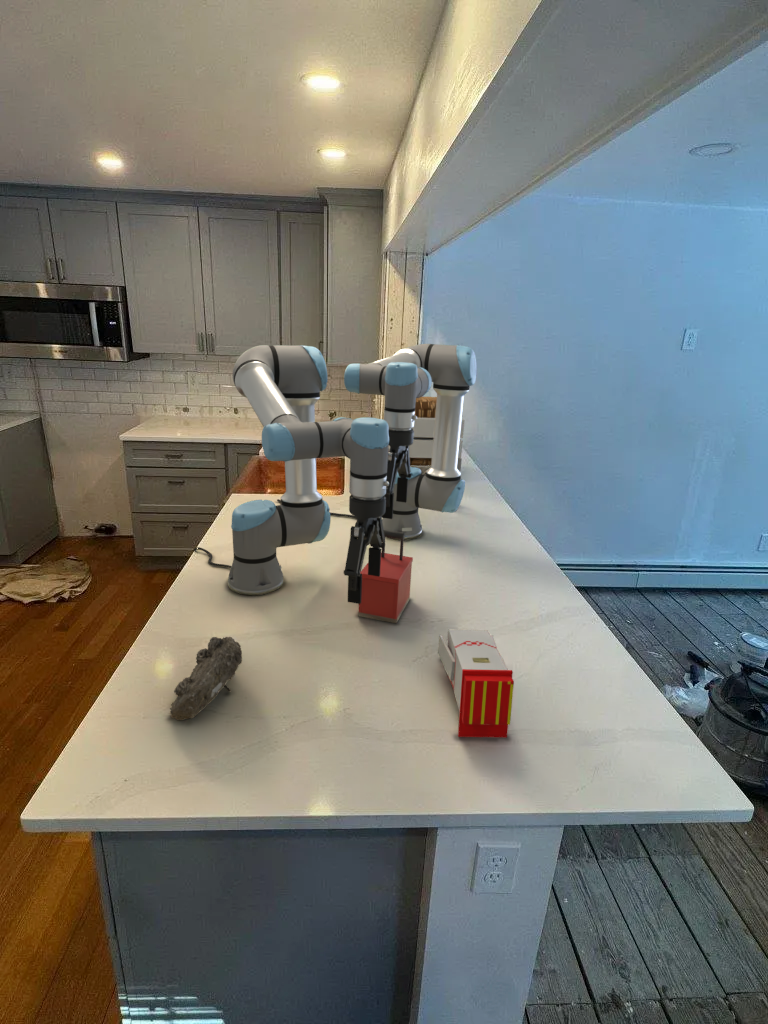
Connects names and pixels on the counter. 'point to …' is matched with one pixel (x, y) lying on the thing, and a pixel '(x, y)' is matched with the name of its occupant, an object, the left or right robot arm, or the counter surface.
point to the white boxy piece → (427, 433)
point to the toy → (478, 682)
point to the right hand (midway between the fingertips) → (394, 509)
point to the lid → (391, 562)
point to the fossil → (207, 677)
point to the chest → (385, 598)
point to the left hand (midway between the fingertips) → (364, 588)
